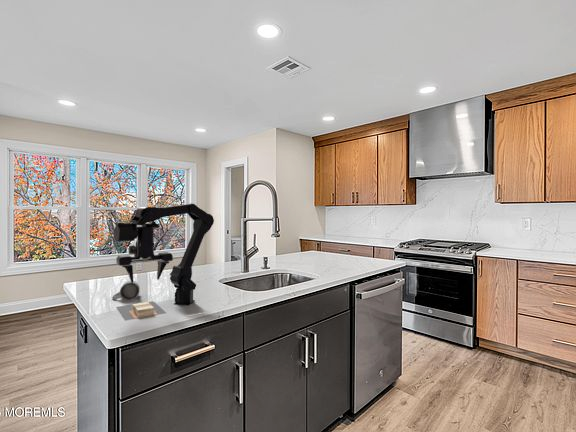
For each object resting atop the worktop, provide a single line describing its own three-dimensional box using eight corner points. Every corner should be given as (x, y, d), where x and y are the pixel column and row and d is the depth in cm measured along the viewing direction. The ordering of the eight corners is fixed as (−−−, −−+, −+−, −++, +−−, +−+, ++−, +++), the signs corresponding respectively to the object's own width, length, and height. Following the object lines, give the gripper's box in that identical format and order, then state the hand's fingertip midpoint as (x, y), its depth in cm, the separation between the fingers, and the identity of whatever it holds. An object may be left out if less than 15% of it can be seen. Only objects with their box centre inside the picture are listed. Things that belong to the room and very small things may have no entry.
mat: (153, 302, 131) (153, 300, 131) (166, 313, 117) (166, 312, 117) (115, 307, 123) (115, 306, 123) (125, 321, 109) (125, 320, 109)
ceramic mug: (139, 294, 142) (139, 277, 142) (139, 299, 135) (139, 281, 134) (112, 297, 137) (112, 280, 137) (111, 302, 130) (111, 284, 130)
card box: (153, 314, 115) (154, 307, 115) (137, 317, 112) (137, 310, 112) (147, 308, 122) (148, 301, 122) (132, 310, 119) (132, 304, 119)
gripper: (164, 237, 130) (164, 274, 131) (113, 239, 118) (113, 280, 119) (173, 239, 121) (173, 279, 122) (119, 242, 110) (119, 286, 110)
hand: (145, 281), depth 118 cm, fingers open, 9 cm apart
